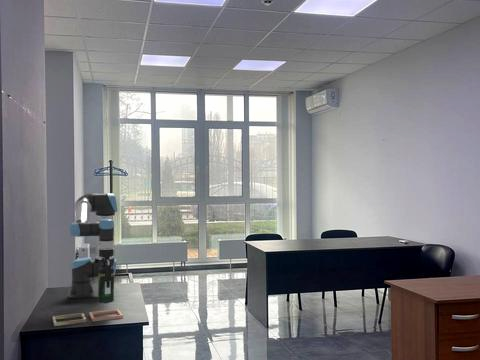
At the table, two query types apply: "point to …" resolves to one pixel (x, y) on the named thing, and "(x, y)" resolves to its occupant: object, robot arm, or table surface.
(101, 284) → the coffee jar
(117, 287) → the table surface
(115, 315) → the frame
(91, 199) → the robot arm
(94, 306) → the table surface
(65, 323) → the frame
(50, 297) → the table surface
